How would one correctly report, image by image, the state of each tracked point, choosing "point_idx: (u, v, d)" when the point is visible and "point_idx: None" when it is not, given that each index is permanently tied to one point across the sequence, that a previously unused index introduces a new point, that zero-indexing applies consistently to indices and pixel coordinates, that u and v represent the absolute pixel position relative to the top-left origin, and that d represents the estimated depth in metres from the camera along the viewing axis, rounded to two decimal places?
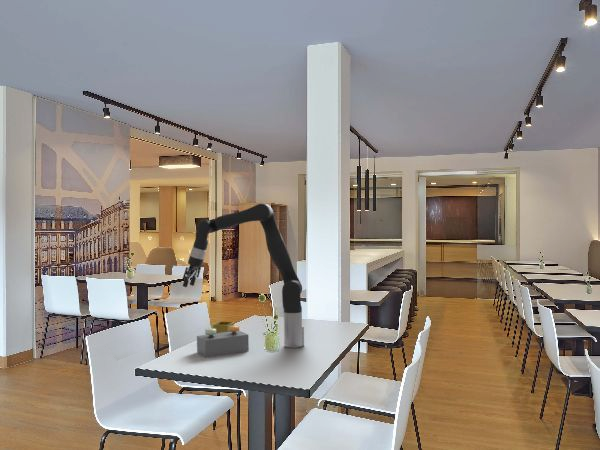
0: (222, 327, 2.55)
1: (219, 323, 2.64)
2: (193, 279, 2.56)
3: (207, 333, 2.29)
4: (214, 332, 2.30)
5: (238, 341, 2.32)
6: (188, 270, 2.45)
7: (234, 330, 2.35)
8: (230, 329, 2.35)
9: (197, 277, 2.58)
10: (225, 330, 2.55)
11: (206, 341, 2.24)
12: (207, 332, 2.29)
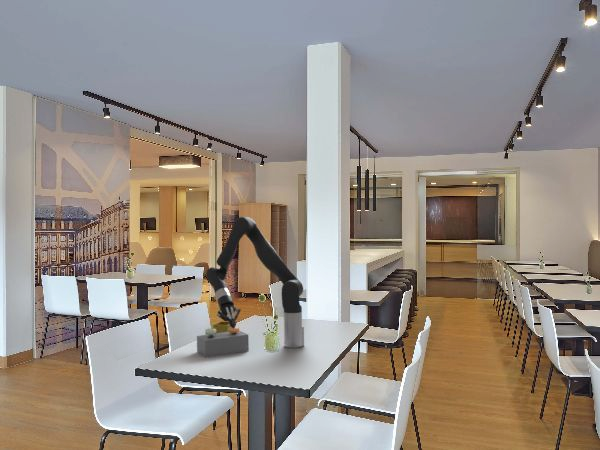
0: (222, 327, 2.55)
1: (219, 323, 2.64)
2: None
3: (207, 333, 2.29)
4: (214, 332, 2.30)
5: (238, 341, 2.32)
6: (219, 314, 2.39)
7: (234, 331, 2.35)
8: (230, 330, 2.35)
9: (235, 316, 2.41)
10: (225, 330, 2.55)
11: (206, 341, 2.24)
12: (207, 332, 2.29)
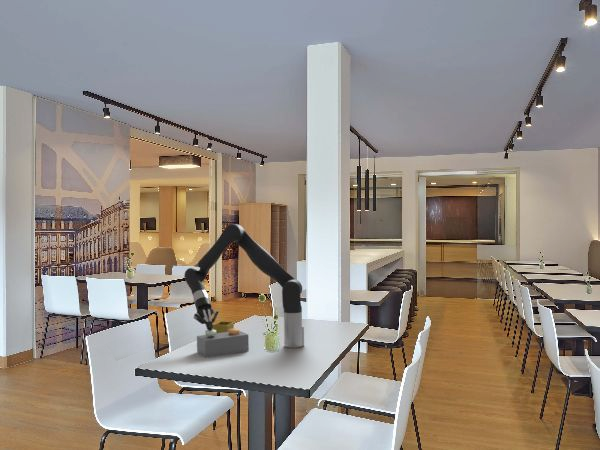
0: (222, 327, 2.55)
1: (219, 323, 2.64)
2: None
3: (207, 334, 2.29)
4: (214, 333, 2.30)
5: (238, 341, 2.32)
6: (195, 316, 2.33)
7: (234, 333, 2.35)
8: (230, 332, 2.35)
9: (212, 319, 2.34)
10: (225, 330, 2.55)
11: (206, 341, 2.24)
12: (207, 333, 2.29)
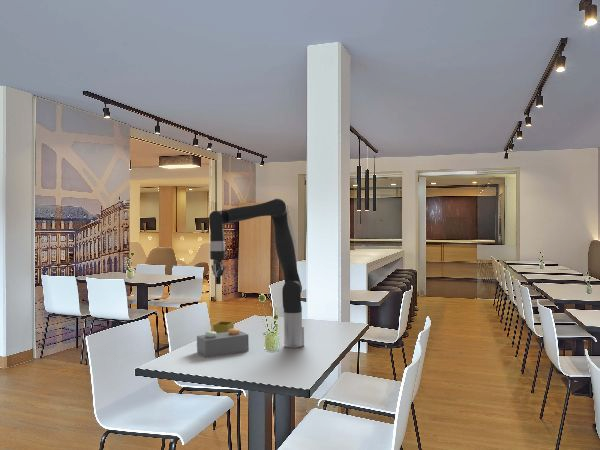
0: (222, 327, 2.55)
1: (219, 323, 2.64)
2: None
3: (207, 336, 2.29)
4: (214, 335, 2.30)
5: (238, 341, 2.32)
6: (222, 269, 2.40)
7: (234, 333, 2.35)
8: (230, 332, 2.35)
9: None
10: (225, 330, 2.55)
11: (206, 341, 2.24)
12: (207, 335, 2.29)
